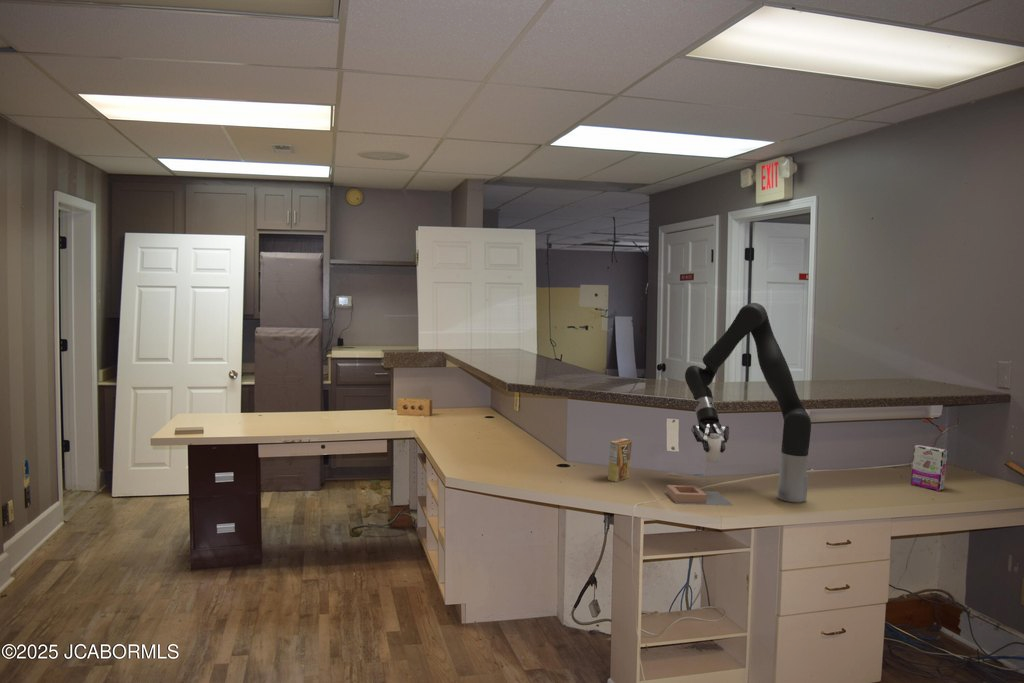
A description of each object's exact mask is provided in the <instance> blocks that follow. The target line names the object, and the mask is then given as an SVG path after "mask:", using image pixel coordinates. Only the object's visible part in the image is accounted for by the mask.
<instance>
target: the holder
mask: <svg viewBox="0 0 1024 683" xmlns="http://www.w3.org/2000/svg"><path fill="white" fill-rule="evenodd" d="M662 491H663V492H664V493H665V494H666V495H667V496H668V498H669V499H671V501H673V503H674V504H675V505H698V506H699V505H700V506H701V505H703V506H705V505H706V506H734V504H733V503H732V502H730V500H728V499H727V498H726V497H725V496H723V495H722V494H721V493H720V492H719V491H712V490H711V491H708V490H702V489H701V488H700V487H698V485H690V484H689V485H683V484H681V485H680V484H679V485H678V484H667V485H666V489H663V490H662Z"/></svg>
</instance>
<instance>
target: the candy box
mask: <svg viewBox="0 0 1024 683" xmlns="http://www.w3.org/2000/svg"><path fill="white" fill-rule="evenodd" d="M632 442H633V441H632V440H631V439H628V438H620V439H615V440H611V441H610V445H609V446H610V447H609V462H608V474H607V480H608V481H611V482H614V481H615V482H614V483H617V482H619V481H620V482H621V481H624V480H627V479H629V478H630V467H631V466H630V465H631V456H632V454H631V453H632ZM623 479H624V480H623Z"/></svg>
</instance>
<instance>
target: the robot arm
mask: <svg viewBox="0 0 1024 683" xmlns="http://www.w3.org/2000/svg"><path fill="white" fill-rule="evenodd" d="M772 329H773V328H772V326H771V322H770V318H769V315H768V313H767V310H766V309H765V307H764V306H763V305H761V304H760V303H757V302H751V303H748V304H745V305H744V306H742V307H740V309H739V311H738V313H737V315H736V316H735V318H734V319H733V321H732V323H731V324H730V326H729V327H728V328H727V330H726V331H725V332H724V333H723V335H722V336H721V337H720V338H719V339H718V340H717V341H716V342H715V343H714V344H713V346H711V347H710V349H709V350H708V351H707V352H706V353H705V355H704V356H703V357H702V363H703V365H704V366H705V367H704V368H702V367H700V366H697V365H690V366H688V367H687V368H686V370H685V372H684V373H685V374H684V379H685V383H686V384H687V387H688V389H689V391H690V393H691V394H692V397H693V400H694V399H695V400H697V401H699V402H700V403H699V404H698V406H697V407H696V409H695V408H694V409H695V414H696V419H697V423H698V425H696V424H694V425H692V428H691V432H692V434H693V437H694V439H695V441H696V442H698V443H701V445H702V448H703V450H704V451H705V453H706V452H708V451H709V445H708V441H707V437H710V433H717V434H719V438H721V452H720V454H721V453H724V452H725V450H726V445H725V444H727V442H728V440H729V438H730V427H729V425H725V426H722V424H721V423H720V419H719V415H718V411H717V407H716V408H715V407H714V405H713V404H710V403H711V402H713V401H714V396H713V392H712V390H711V388H710V387H709V386H710V385H711V384H712V382H713V380H714V379H715V376H716V375H717V372H718V370H719V368H720V367H721V366H722V365H723V364H724V363H725V361H726V360H727V359H728V358H729V357H730V356H731V354H732V353H733V351H734V350H735V348H736V347H737V346H738V344H739V343H740V342H741V341H742V340H743V339H744V337H746V336H747V335H748V334H751V336H752V338H753V340H754V343H755V348H756V354H757V360H758V365H759V368H760V369H761V373H762V375H763V377H764V380H765V381H766V383H767V385H768V387H769V389H770V390H771V392H772V393H773V396H774V397H775V399H776V400H777V402H778V405H779V407H780V411H781V415H782V418H783V427H782V428H783V429H782V439H781V440H782V441H781V448H780V449H781V451H780V452H781V453H780V462H779V463H780V464H779V474H778V485H777V495H776V496H777V499H779V500H782V501H785V502H789V503H803V502H807V498H808V497H807V496H808V495H807V494H808V486H809V485H808V484H809V475H808V474H807V469H808V460H809V449H810V443H811V442H810V441H811V432H812V421H811V417H810V415H809V414H808V412H807V410H806V409H805V407H804V404H803V403H802V401H801V399H800V398H799V395H798V393H797V392H798V391H797V390H796V386H795V382H794V380H793V378H794V377H793V376H792V373H791V370H790V368H789V365H788V362H787V360H786V358H785V357H784V356H785V355H784V354H783V352H782V350H781V347H780V346H779V343H778V341H777V339H776V337H775V335H774V332H773V330H772ZM714 402H715V401H714ZM700 432H701V433H702V435H701V434H700ZM722 433H723V434H722Z"/></svg>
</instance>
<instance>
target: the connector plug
mask: <svg viewBox="0 0 1024 683" xmlns="http://www.w3.org/2000/svg"><path fill="white" fill-rule="evenodd" d="M707 441H708V445H709V451H708V452H706V451H705V462H706V463H707V462H708V463H710V464H711V463H712V464H718V463H720V462H721V438H719V434H717V433H710V436H707Z"/></svg>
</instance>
